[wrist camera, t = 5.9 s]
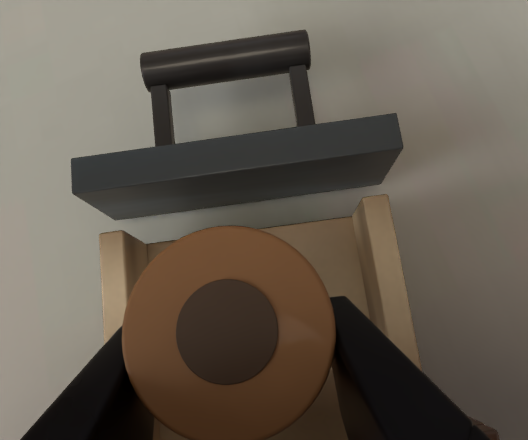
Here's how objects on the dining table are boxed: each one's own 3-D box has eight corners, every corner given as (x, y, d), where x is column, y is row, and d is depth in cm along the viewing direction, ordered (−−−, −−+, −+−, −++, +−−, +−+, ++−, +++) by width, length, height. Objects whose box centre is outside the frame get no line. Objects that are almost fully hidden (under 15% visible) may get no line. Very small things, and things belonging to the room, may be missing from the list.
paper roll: (329, 314, 16) (378, 296, 7) (276, 402, 16) (258, 498, 7) (246, 261, 17) (198, 186, 8) (192, 344, 16) (75, 364, 7)
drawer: (107, 92, 20) (65, 38, 16) (356, 57, 19) (372, -6, 16) (133, 546, 16) (86, 612, 12) (443, 508, 16) (491, 564, 12)
